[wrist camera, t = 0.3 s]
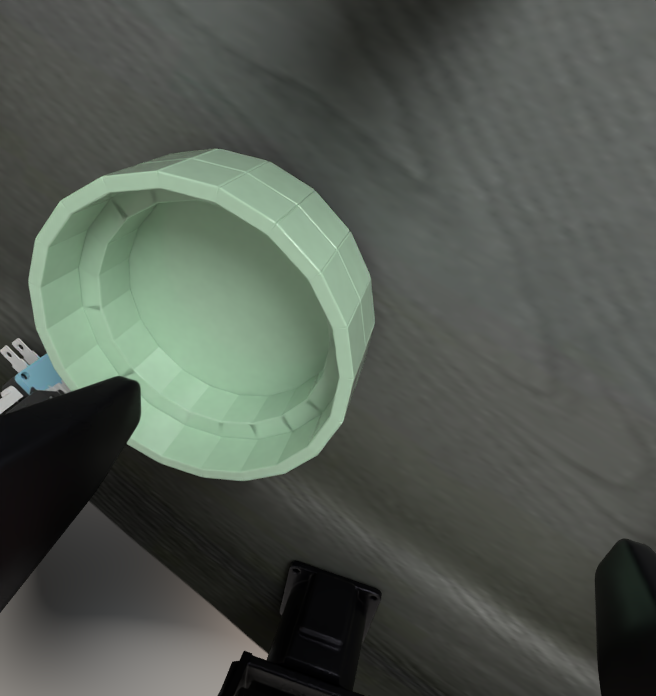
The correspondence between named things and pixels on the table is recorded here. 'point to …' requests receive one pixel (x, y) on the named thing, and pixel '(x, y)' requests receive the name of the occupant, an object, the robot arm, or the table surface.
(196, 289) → the bowl
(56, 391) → the push button
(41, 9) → the table surface
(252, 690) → the robot arm
